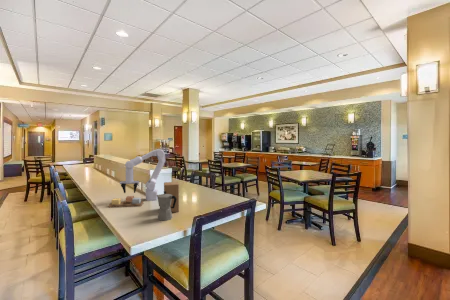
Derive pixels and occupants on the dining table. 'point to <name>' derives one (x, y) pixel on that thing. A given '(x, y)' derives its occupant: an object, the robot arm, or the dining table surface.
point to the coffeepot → (165, 206)
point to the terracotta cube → (129, 198)
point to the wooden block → (173, 194)
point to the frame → (126, 204)
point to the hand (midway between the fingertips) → (129, 192)
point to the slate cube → (136, 200)
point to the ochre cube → (116, 201)
